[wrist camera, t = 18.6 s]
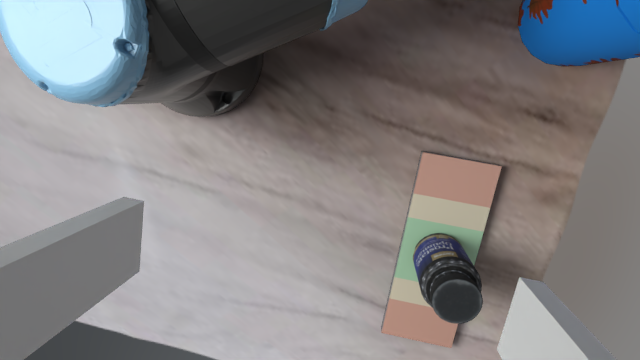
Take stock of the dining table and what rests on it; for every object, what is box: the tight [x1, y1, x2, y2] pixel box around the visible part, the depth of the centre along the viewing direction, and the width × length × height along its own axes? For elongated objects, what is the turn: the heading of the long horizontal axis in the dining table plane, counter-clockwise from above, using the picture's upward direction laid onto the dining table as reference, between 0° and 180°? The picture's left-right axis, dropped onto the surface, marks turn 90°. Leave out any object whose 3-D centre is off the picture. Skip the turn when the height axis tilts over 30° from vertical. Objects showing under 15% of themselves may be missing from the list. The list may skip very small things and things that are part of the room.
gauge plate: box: [381, 151, 502, 348], centre depth 48 cm, size 9×24×1 cm, turn 170°
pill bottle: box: [413, 233, 483, 324], centre depth 42 cm, size 6×6×11 cm
